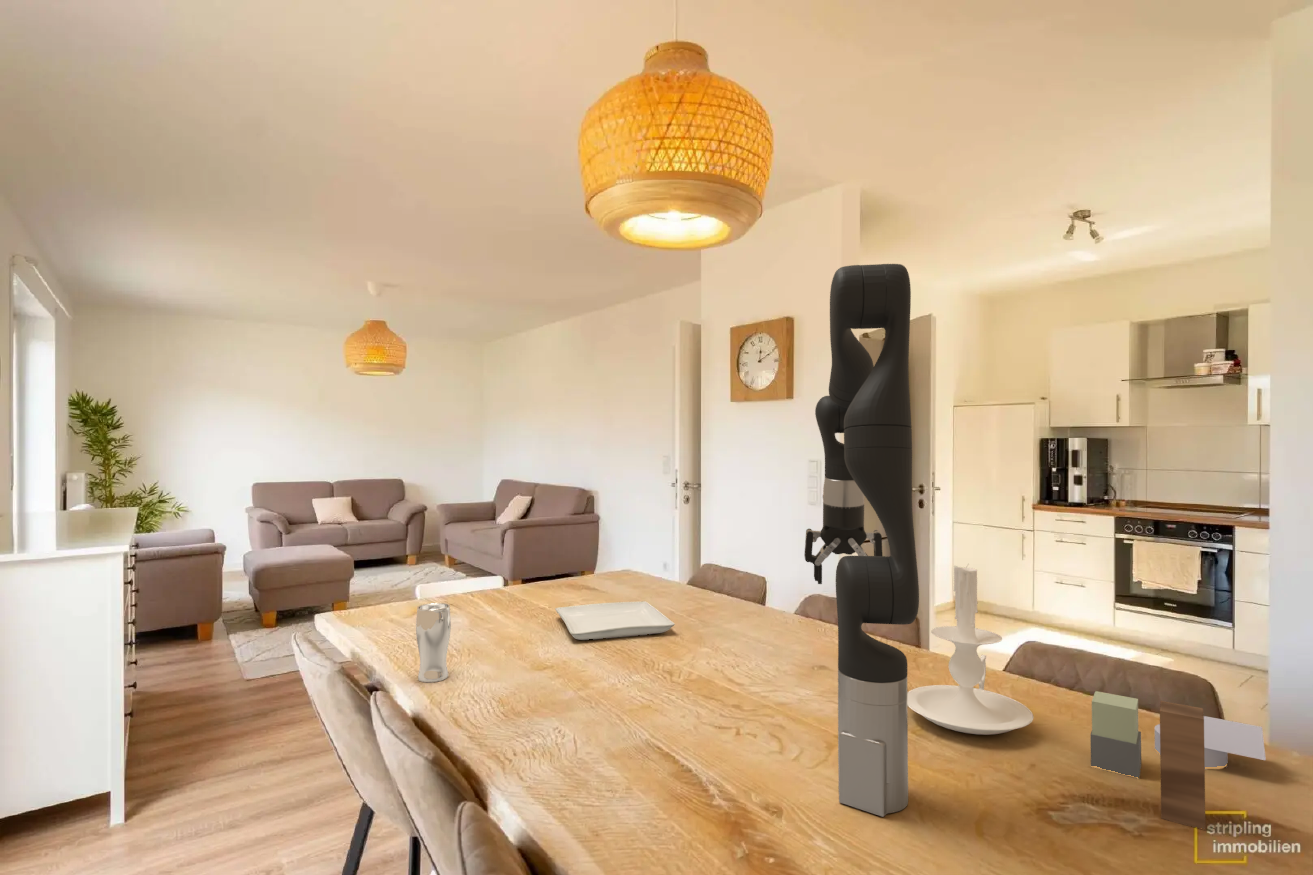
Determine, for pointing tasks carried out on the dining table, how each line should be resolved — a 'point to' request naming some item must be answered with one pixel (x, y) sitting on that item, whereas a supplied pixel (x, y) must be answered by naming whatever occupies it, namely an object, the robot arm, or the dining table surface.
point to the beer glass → (433, 640)
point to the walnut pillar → (1182, 764)
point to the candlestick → (967, 675)
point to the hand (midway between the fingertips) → (842, 583)
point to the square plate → (613, 620)
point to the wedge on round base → (1227, 741)
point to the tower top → (1115, 717)
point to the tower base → (1116, 755)
